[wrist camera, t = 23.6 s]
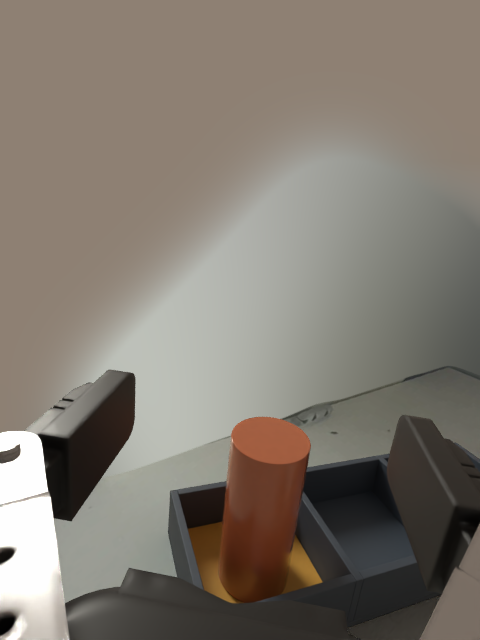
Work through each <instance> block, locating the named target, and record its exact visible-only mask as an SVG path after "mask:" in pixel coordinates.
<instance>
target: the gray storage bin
mask: <svg viewBox="0 0 480 640" xmlns="http://www.w3.org/2000/svg"><path fill="white" fill-rule="evenodd" d="M455 444H456V445H457V446H458V447H460V448H461V449H462V450H463V451H465V452H466V454H467V455H468V457H469V458H470V459H471V461H472V462H473V464H474V465H475V468H477V469H478V471H479V472H480V459H479V458H477V457H476V456H474V455H473V454H471V453H470V452H469V451H467V450H466V449H464V448H463V447H461V446H460V445H459V444H457V443H455ZM389 455H390V454H385V455H381V456H380V455H379V456H372V457H367V458H361V459H355V460H349V461H343V462H337V463H331V464H325V465H319V466H314V467H308V468H307V471H306V477H305V483H304V488H303V494H302V500H301V505H300V511H299V517H298V522H297V528H296V534H295V540H294V545H293V551H292V557H291V562H290V568H289V574H288V579H287V584H286V587H285V589H284V591H283V592H282V593H281V595H278V596H274V597H271V598H268V599H264V600H261V601H257V602H268V601H284V600H292V601H297V602H302V603H307V604H312V605H317V606H322V607H327V608H332V609H337V610H342V611H345V614H346V621H347V628H348V627H350V626H353V625H356V624H359V623H362V622H365V621H367V620H370V619H373V618H376V617H379V616H382V615H384V614H387V613H390V612H393V611H396V610H399V609H401V608H404V607H407V606H410V605H413V604H416V603H418V602H421V601H424V600H427V599H430V598H433V597H436V596H438V595H441V593H436V592H430V591H427V589H426V586H425V584H424V581H423V578H422V575H421V572H420V570H419V567H418V564H417V561H416V558H415V556H414V553H413V550H412V547H411V544H410V542H409V539H408V536H407V533H406V530H405V528H404V525H403V522H402V519H401V516H400V514H399V511H398V508H397V505H396V502H395V500H394V497H393V494H392V491H391V488H390V486H389V482H388V477H387V464H388V459H389ZM225 491H226V481H225V482H219V483H213V484H208V485H202V486H196V487H190V488H184V489H178V490H173V491H170V508H169V527H168V534H169V539H170V544H171V549H172V554H173V558H174V563H175V568H176V573H177V577H178V578H181V579H183V580H185V581H187V582H189V583H191V584H193V585H195V586H197V587H199V588H201V589H203V590H205V591H207V592H209V593H211V594H213V595H215V596H217V597H219V598H221V599H223V600H225V601H228V602H230V603H243V602H241V601H239V600H237V599H235V598H234V597H232V596H231V595H230V594H229V593H228V592H227V591H226V590H225V588H224V587H223V585H222V583H221V581H220V579H219V575H218V559H219V549H220V539H221V530H222V520H223V510H224V501H225Z"/></svg>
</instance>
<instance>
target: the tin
mask: <svg viewBox="0 0 480 640" xmlns="http://www.w3.org/2000/svg"><path fill="white" fill-rule="evenodd" d="M310 448H311V444H310V440H309V438H308V436H307V435H306V434H305V433H304V432H303V431H302V430H301V429H300V428H298V427H297V426H295V425H294V424H292V423H289V422H287V421H284V420H281V419H277V418H271V417H254V418H249V419H246V420H244V421H241V422H240V423H238V424H237V425H236V426H235V427H234V429H233V431H232V434H231V442H230V452H229V462H228V472H227V481H226V491H225V501H224V510H223V520H222V530H221V539H220V549H219V559H218V575H219V579H220V581H221V583H222V585H223V587H224V588H225V590H226V591H227V592H228V593H229V594H230V595H231V596H232V597H234V598H235V599H237V600H239V601H241V602H243V603H253V602H257V601H261V600H264V599H268V598H271V597H274V596H278V595H281V593H282V592H283V591H284V589H285V587H286V584H287V579H288V574H289V568H290V562H291V557H292V551H293V545H294V540H295V534H296V528H297V522H298V517H299V511H300V505H301V500H302V494H303V488H304V483H305V477H306V471H307V466H308V460H309V454H310Z"/></svg>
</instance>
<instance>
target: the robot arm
mask: <svg viewBox="0 0 480 640" xmlns="http://www.w3.org/2000/svg"><path fill="white" fill-rule="evenodd" d="M134 419H135V376H134V374H133V373H129V372H122V371H116V370H108V371H106V372H105V373H104V374H103V375H102V376H101V377H100V378H99V379H98V380H96V381H95V382H94V383H86V384H84V385H82V386H80V387H77V388H75V389H73V390H72V391H71V392H69V393H68V394H67V395H66V396H65V397H63V399H62V400H60V401H59V402H58V403H56V404H55V405H54V407H53V408H50V409H49V410H48V411H47V412H46V413H45V414H43V415H42V416H41V417H40V418H39V419H37V420H36V421H35V422H34V423H33V424H32V425H30V426H29V427H28V428H27V429H26V430H24V431H13V432H6V433H1V434H0V640H360V639H358V638H356V637H354V636H352V635H350V634H348V629H347V621H346V614H345V611H342V610H337V609H332V608H327V607H322V606H317V605H312V604H307V603H302V602H297V601H292V600H284V601H268V602H253V603H230V602H228V601H225V600H223V599H221V598H219V597H217V596H215V595H213V594H211V593H209V592H207V591H205V590H203V589H201V588H199V587H197V586H195V585H193V584H191V583H189V582H187V581H185V580H183V579H181V578H177V577H172V576H167V575H162V574H157V573H152V572H147V571H142V570H137V569H132V568H129V569H128V571H127V573H126V576H125V578H124V580H123V582H122V585H121V587H113V588H107V589H102V590H98V591H95V592H91V593H88V594H85V595H83V596H80V597H78V598H75V599H73V600H71V601H69V602H67V603H65V602H64V594H63V587H62V580H61V573H60V565H59V558H58V551H57V543H56V536H55V529H54V521H53V518H56V519H62V520H67V521H72V519H73V518H74V517H75V515H76V514H77V512H78V511H79V509H80V508H81V506H82V505H83V504H84V502H85V501H86V499H87V498H88V496H89V495H90V493H91V492H92V491H93V489H94V488H95V486H96V485H97V483H98V482H99V480H100V479H101V478H102V476H103V475H104V473H105V472H106V470H107V469H108V467H109V466H110V465H111V463H112V462H113V460H114V459H115V457H116V456H117V455H118V453H119V452H120V450H121V449H122V447H123V446H124V444H125V443H126V441H127V440H128V439H129V436H130V435H131V432H132V429H133V425H134ZM387 477H388V482H389V486H390V488H391V491H392V494H393V497H394V500H395V502H396V505H397V508H398V511H399V514H400V516H401V519H402V522H403V525H404V528H405V530H406V533H407V536H408V539H409V542H410V544H411V547H412V550H413V553H414V556H415V558H416V561H417V564H418V567H419V570H420V572H421V575H422V578H423V581H424V584H425V586H426V589H427V591H430V592H436V593H441V594H442V595H441V597H440V599H439V601H438V603H437V605H436V607H435V609H434V611H433V613H432V615H431V617H430V619H429V621H428V623H427V625H426V627H425V629H424V631H423V633H422V635H421V637H420V639H419V640H480V472H479V471H478V469H477V468H475V465H474V464H473V462H472V461H471V459H470V458H469V457H468V455H467V454H466V452H465V451H463V450H462V449H461V448H460V447H458V446H457V445H456V444H455V443H453V442H452V441H451V440H450V439H444V438H443V436H442V435H441V433H440V432H439V430H438V429H437V427H436V426H435V424H434V423H433V421H432V420H431V419H427V418H421V417H414V416H407V415H402V416H401V417H400V418H399V421H398V424H397V428H396V432H395V436H394V439H393V443H392V447H391V451H390V455H389V459H388V464H387Z"/></svg>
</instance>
